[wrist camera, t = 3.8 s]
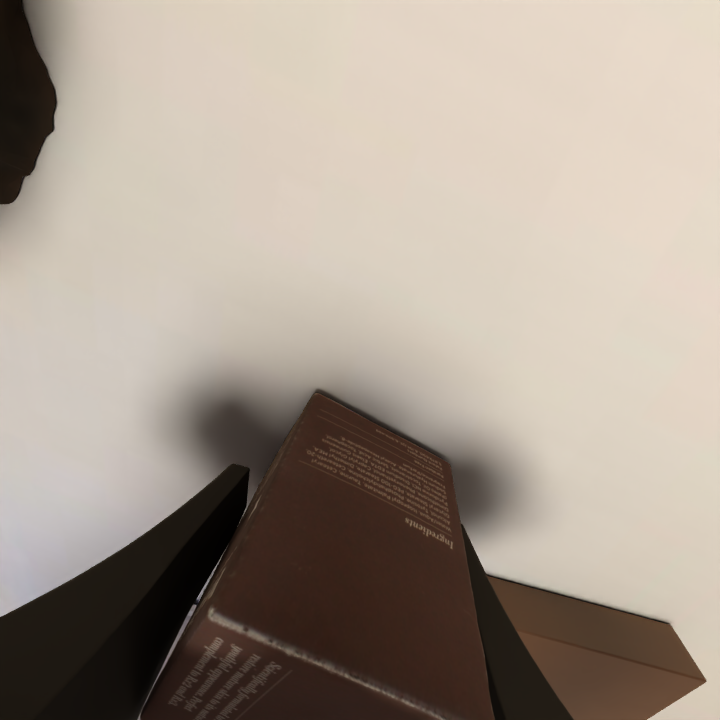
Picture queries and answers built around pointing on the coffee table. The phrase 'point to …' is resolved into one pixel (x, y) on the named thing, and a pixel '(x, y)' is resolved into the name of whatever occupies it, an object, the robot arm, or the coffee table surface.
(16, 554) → the coffee table surface
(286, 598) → the box
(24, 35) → the brown rock
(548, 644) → the copper block
